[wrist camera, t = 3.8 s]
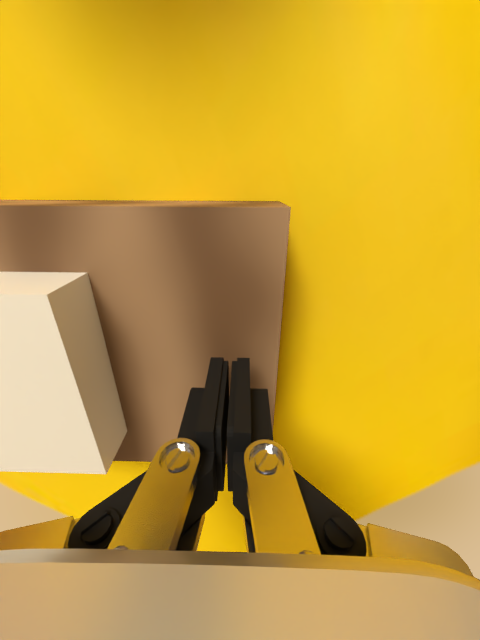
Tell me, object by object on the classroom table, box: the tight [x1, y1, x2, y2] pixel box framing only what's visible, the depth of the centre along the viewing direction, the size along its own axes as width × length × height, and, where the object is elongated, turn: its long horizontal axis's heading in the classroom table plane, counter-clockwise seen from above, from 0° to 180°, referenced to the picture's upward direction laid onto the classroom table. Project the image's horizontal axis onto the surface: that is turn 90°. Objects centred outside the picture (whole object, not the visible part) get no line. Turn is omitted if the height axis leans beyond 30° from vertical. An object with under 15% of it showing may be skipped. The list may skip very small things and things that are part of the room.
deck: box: [0, 200, 291, 464], centre depth 15 cm, size 18×14×4 cm
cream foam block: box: [0, 272, 127, 474], centre depth 12 cm, size 6×9×2 cm, turn 0°
